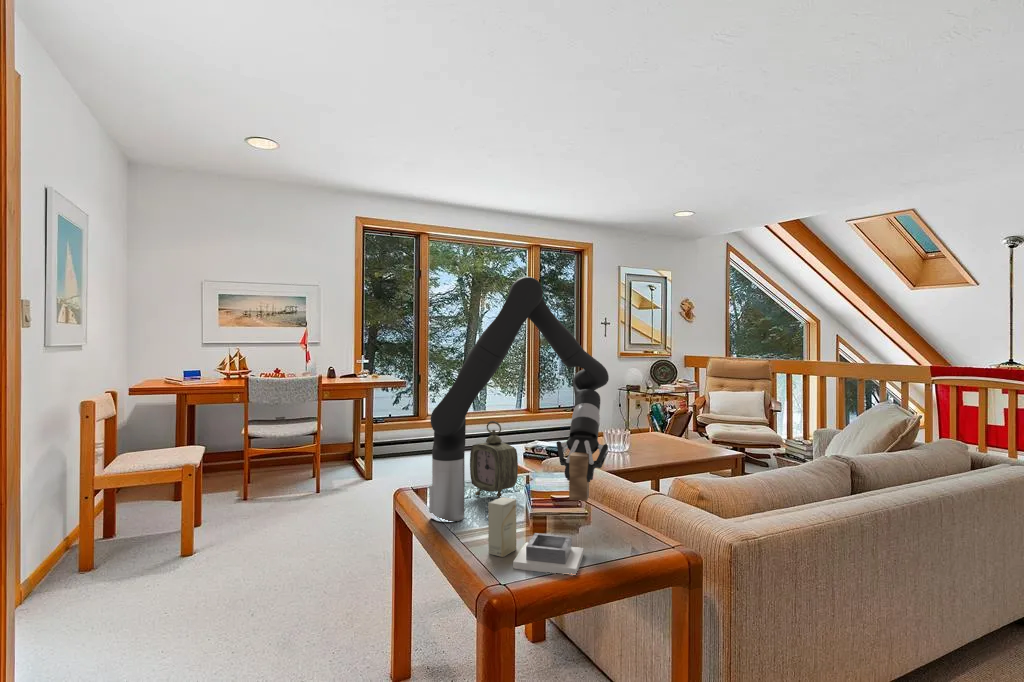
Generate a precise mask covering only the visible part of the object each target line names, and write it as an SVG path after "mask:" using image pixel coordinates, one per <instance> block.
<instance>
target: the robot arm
mask: <svg viewBox="0 0 1024 682" xmlns="http://www.w3.org/2000/svg"><path fill="white" fill-rule="evenodd" d="M543 295H544V291H543V286H542V284H541V283H540V281H539V280H538V279H536V278H535V277H532V276H523V277H520V278H518V279H516V280H514V282H513V283H512V284H511V286H510V288H509V292H508V295H507V298H506V300H505V302H504V304H503V305H502V308H501V309H500V311H499V313H498V314H497V316H496V317H495V318H494V320H493V321H491V323H490V324H489V325H488V326H487V328H486V329H485V330H484V331H483V333H481V335H480V336H479V338H478V339H477V341H476V342H475V344H474V345H473V347H472V348H471V350H470V352H469V354H468V355H467V357H466V359H465V360H464V363H463V364H462V366H461V368H460V370H459V372H458V374H457V377H456V378H455V380H454V383H453V384H452V386H451V387H450V389H449V390H448V391H447V393H446V394H445V396H444V397H443V398H442V399H441V400H440V402H439V403H438V404H437V406H435V408H433V410H432V411H431V416H430V425H431V428H432V431H433V442H432V443H433V444H432V449H431V450H432V451H431V453H432V455H431V458H432V459H431V462H432V463H431V464H432V465H431V470H432V471H431V473H432V477H431V478H432V479H431V480H432V481H431V484H430V485H429V490H428V491H429V495H428V496H429V497H428V498H429V499H428V500H429V510H428V511H429V512H430V513H433V514H434V515H435V516H437V517H439V518H442V519H445V520H448V521H457V522H459V521H462V520H464V519H465V512H466V511H465V510H466V509H465V502H466V501H465V495H466V494H465V493H466V492H465V487H466V486H465V453H466V452H465V449H466V431H467V429H466V426H467V425H466V419H467V418H466V416H467V414H468V412H469V410H470V408H471V406H472V405H473V403H474V401H475V400H476V398H477V396H478V395H479V394H480V393H481V391H483V389H484V388H485V387H486V385H488V383H489V382H490V381H491V380H492V378H493V377H494V375H495V374H496V372H497V371H498V370H499V368H500V366H501V364H502V363H503V362H504V359H505V358H506V356H507V354H508V353H509V351H510V349H511V347H512V345H513V343H514V342H515V339H516V337H517V335H518V334H519V331H520V329H521V328H522V326H523V325H524V324H525V322H526V321H527V319H529V320H530V321H531V322H532V324H533V325H534V326H535V327H536V328H537V329H538V331H539V332H540V333H541V335H542V336H543V337H544V339H545V340H546V342H547V343H548V344H549V346H550V347H551V348H552V350H553V351H554V352H555V355H557V357H559V359H560V360H561V362H562V363H563V364H564V366H565V367H566V368H568V369H571V368H576V367H578V368H581V370H579V371H578V372H576V373H575V374H574V377H573V378H572V386H573V391H574V397H575V400H574V401H575V402H574V407H573V412H572V416H571V421H570V429H569V435H568V439H567V440H566V441H565V442H561V441H559V440H557V441H556V449H557V453H558V459H559V464H560V465H561V466H564V467H565V469H564V477H565V479H566V480H567V481H569V478H570V474H569V461H570V454H571V453H575V452H580V453H588V454H589V465H588V471H587V482H589V483H591V481H593V479H594V471H595V469H602V467H603V465H604V462H605V460H606V458H607V456H608V454H609V446H608V444H607V443H606V444H605V443H604V444H600V443H599V441H598V440H599V430H600V425H601V424H600V419H601V418H600V410H601V396H600V394H599V392H597V391H596V390H598V389H600V388H602V387H605V385H607V384H608V382H609V380H610V379H609V377H610V376H609V373H608V370H607V369H606V367H605V366H604V365H603V364H602V363H600V361H599V360H597V359H596V358H594V357H593V356H592V355H591V354H590V353H588V352H587V351H585V349H584V348H583V347H582V346H581V345H580V343H579V342H578V340H577V339H576V338H575V337H574V335H573V334H572V332H570V331H569V329H568V328H567V327H566V326H565V325H564V324H563V323H562V322H561V321H560V320H559V319H558V318H557V317H556V316H555V314H554V313H553V312H552V311H551V309H550V308H549V307H548V304H546V302H545V300H544V298H543ZM567 448H568V450H569V453H568V456H567V458H565V456H564V455H565V454H564V452H565V451H566V449H567ZM598 450H599V452H598V453H599V454H598V456H597V458H596V460H594V457H593V454H594V453H596V451H598Z"/></svg>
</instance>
